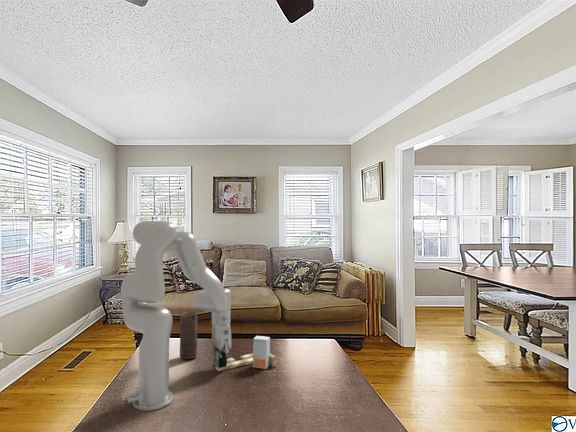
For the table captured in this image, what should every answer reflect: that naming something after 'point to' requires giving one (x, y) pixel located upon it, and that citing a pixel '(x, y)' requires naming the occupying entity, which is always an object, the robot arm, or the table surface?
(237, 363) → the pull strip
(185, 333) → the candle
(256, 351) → the skincare box
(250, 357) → the broken strip
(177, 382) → the table surface
